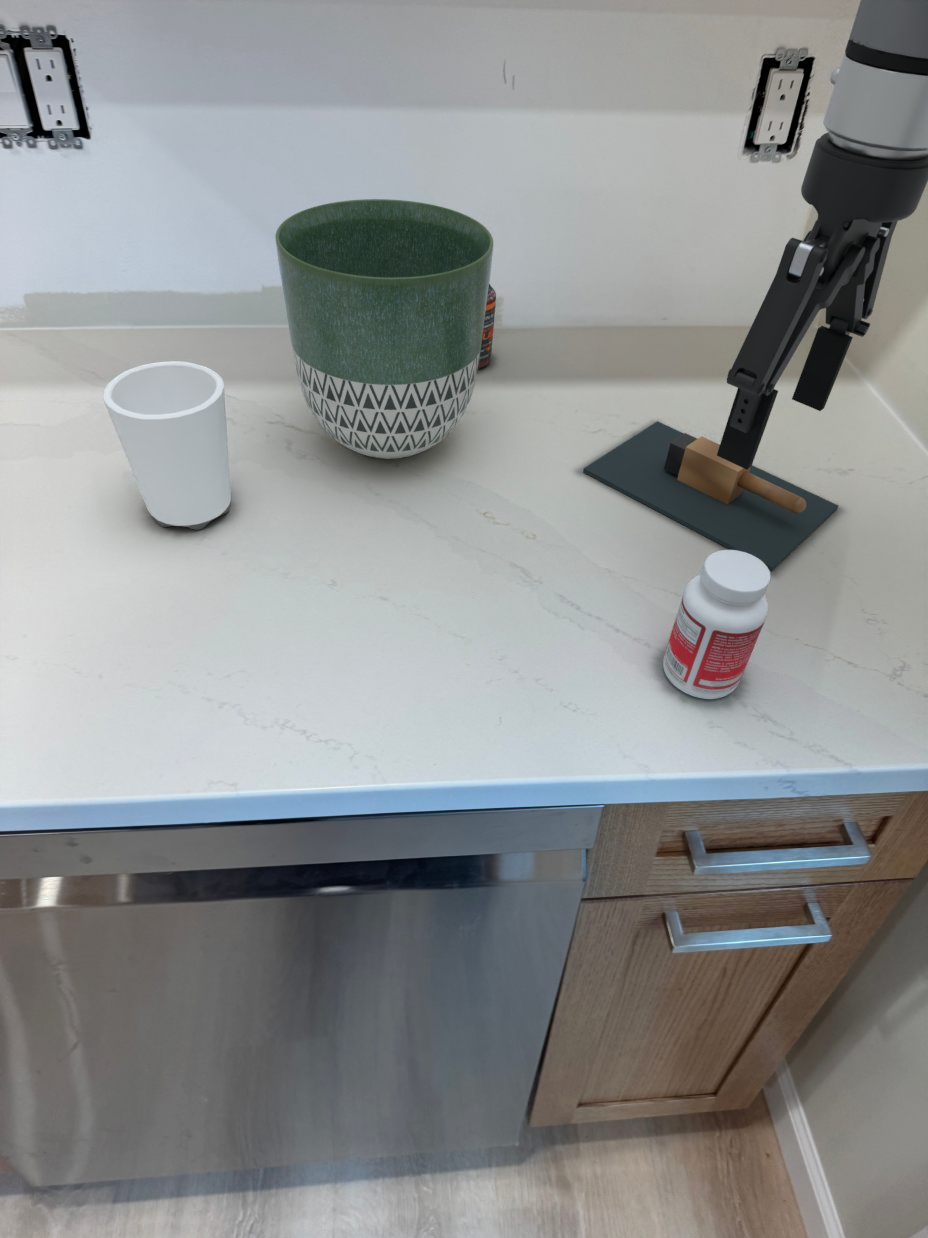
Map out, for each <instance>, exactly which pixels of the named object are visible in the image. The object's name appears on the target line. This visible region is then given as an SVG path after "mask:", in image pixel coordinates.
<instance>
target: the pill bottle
mask: <svg viewBox="0 0 928 1238" xmlns="http://www.w3.org/2000/svg"><path fill="white" fill-rule="evenodd" d="M770 581H771V571H770V570H769V569H768V567H767V566H766V565H765V564H764V563H763V562H762V561H761V560H760V559H758V558H757V557H755V556H753V555H751V554H748V553H745V552H742V551H737V550H730V549H721V550H717V551H715V552H713V553H710V554H709V555H708V556H707V558H705V561H704V563H703V566H702V569H701V571H700V573H699V574H698V575H696V576H694V577H693V578H692V579H690V581H689V582H688V583H687V585H686V586H685V589H684V591H683V594H682V597H681V601H680V603H679V607H678V609H677V613H676V616H675V619H674V622H673V626H672V628H671V633H670V637H669V639H668V642H667V645H666V648H665V649H666V650H665V652H664V656H663V661H662V663H663V665H662V666H663V671H664V674H665V676H666V677H667V679H668V680H669V681H670V683H671V684H672V685H673V686H674V687H676V689H678V690H680V691H681V692H683V693H685V694H686V695H689V696H691V697H694V698H699V699H703V700H717V699H720V698H723V697H726V696H728V695H731V693H733V692H734V691H735V690H736V689H737V687H738V686H739V684H740V682H741V680H742V678H743V675H744V673H745V670H746V668H747V665H748V663H749V660H750V658H751V656H752V653H753V650H754V648H755V646H756V644H757V642H758V639H759V636H760V634H761V631H762V629H763V626H764V624H765V622H766V619H767V616H768V614H769V602H768V600H767V596H766V593H767V591H768V588H769V584H770Z"/></svg>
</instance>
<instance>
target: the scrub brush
mask: <svg viewBox="0 0 928 1238" xmlns="http://www.w3.org/2000/svg"><path fill="white" fill-rule="evenodd" d="M719 446H720V444H719V443H717V442H716V441H713V440H711V439H709V438H707V437H705V436H700V437H698V438H697V437H696V436H692V435H691V434H689V433H687V432H684V434H683V435H681V436H680V437H678V438H677V439H675V440H674V441H672V442H671V443H670V447H669V451H668V455H667V458H666V462H665V466H664V469H665V470H667V471H669V472H671V473H673V474H675V475H677V476H678V478H677V480H678V481H680V482H682V483H684V484H686V485H688V486H690V487H692V488H694V489H696V490H698V491H700V492H702V493H704V494H707V495H709V496H711V497H713V498H715V499H717V500H719V501H721V502H723V503H725V504H727V505H728V504H729V503H730V502H732V501H733V500H734V499H735V498H737V497H738V496H739V495H740V494H742V492H743V489H745V490H747V491H749V492H751V493H754V494H756V495H758V496H760V497H762V498H764V499H766V500H768V501H770V502H772V503H774V504H776V505H778V506H780V507H782V508H785V509H787V510H789V511H791V512H793V513H801V512H803V511H804V510H805V508H806V501H805V500H804V499H803V498H802V497H800V496H797V495H795V494H793V493H791V492H789V491H787V490H785V489H783V488H781V487H778V486H776V485H774V484H772V483H770V482H768V481H766V480H764V479H761V478H759V477H757V476H755V475H753V474H751V473H749V472H750V469H751V467H750V468H749V469H747V470H746V469H744V468H742V467H740V466H738V465H736V464H734V463H732V462H730V461H727V460H725V459H723V458H721V457H719V456H717V453H718V449H719Z"/></svg>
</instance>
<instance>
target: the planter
mask: <svg viewBox="0 0 928 1238" xmlns="http://www.w3.org/2000/svg"><path fill="white" fill-rule="evenodd" d="M274 237H275V238H274V239H275V247H276V254H277V255H276V256H277V261H278V262H277V263H278V270H279V274H280V280H281V286H282V291H283V292H282V293H283V298H284V304H285V311H286V318H287V324H288V325H287V326H288V330H289V337H290V342H291V348H292V349H291V350H292V354H293V361H294V366H295V371H296V376H297V380H298V383H299V386H300V390H301V392H302V395H303V398H304V401H305V402H306V405H307V407H308V409H309V411H310V413H311V415H312V416H313V418H314V420H315V421H316V422H317V424H319V426H320V427H321V429H323V430H324V431H325V433H326V434H328V435H329V436H330V438H332V439H334V440H335V441H336V442H338V443H339V444H341V445H342V446H343V447H345V448H347V449H349V450H351V451H354V452H355V453H358V454H361V455H364V456H365V457H366V456H367V457H370V458H375V459H376V458H377V459H385V460H386V459H388V460H389V459H392V460H394V459H402V458H407V457H411V456H414V455H417V454H420V453H423V452H424V451H427V450H429V449H430V448H433V447H434V446H436V445H437V444H438V443H440V442H442V440H444V439H445V438H446V437H447V436H448V435H450V433H451V432H452V431H453V430H454V429H455V428H456V427H457V426H458V424H459V423H460V421H461V420H462V419H463V416H464V415H465V413H466V411H467V409H468V406H469V404H470V401H471V400H472V397H473V396H472V395H473V393H474V390H475V386H476V382H477V377H478V372H479V369H478V365H479V358H480V350H481V343H482V336H483V329H484V320H485V311H486V303H487V295H488V288H489V284H490V282H489V281H491V272H492V265H493V256H494V255H493V254H494V238H493V235H492V233H491V232H490V230H489V229H487V227H486V226H485V225H484V224H483V223H481V222H480V221H478V220H476V219H475V218H473V217H471V216H469V215H467V214H464V213H462V212H459V211H458V210H457V211H456V210H454V209H450V208H447V207H444V206H440V205H436V204H431V203H425V202H419V201H413V200H412V201H411V200H404V199H390V198H389V199H388V198H387V199H386V198H385V199H383V198H368V199H367V198H366V199H351V200H342V201H335V202H329V203H324V204H320V205H316V206H313V207H310V208H306V209H304V210H301V211H298V212H297V213H295V214H292V215H291V216H289V217H288V218H286V219H285V220H284V221H282V222H281V224H280V225H278V227H277V229H276V232H275V236H274Z"/></svg>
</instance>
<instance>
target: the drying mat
mask: <svg viewBox="0 0 928 1238" xmlns="http://www.w3.org/2000/svg"><path fill="white" fill-rule="evenodd" d="M684 433H685V432H684ZM684 433H683V432H682V431H679V430H677V429H675V428H673V427H671V426H669V425H666V424H664V423H662V422H660V421H659V420H657V421H655V422H654V423H652V424H651V425H650V426H647V427H646V428H644V429H643V430H641V431H639V432H638V433H637V434H635V435H633V436H632V437H631V438H629V439H627V440H626V441H624V442H623V443H621V444H619V445H618V446H617V447H615V448H613V449H612V450H610V451H608V452H607V453H605V454H603V455H602V456H600V457H599V458H597V459H596V460H594V461H593V462H591V463H590V464H588V465H586V466H585V467H583V470H582V472H583V473H584V474H585V475H588V476H590V477H592V478H593V479H596V480H597V481H599V482H601V483H603V484H605V485H607V486H609V487H610V488H613V489H614V490H616V491H618V492H621V493H622V494H624V495H625V496H628V497H630V498H632V499H634V500H635V501H637V502H639V503H641V504H643V505H645V506H646V507H649V508H651V509H653V510H654V511H656V512H658V513H660V514H662V515H663V516H666V517H668V518H670V519H672V520H673V521H675V522H677V523H679V524H681V525H683V526H685V527H686V528H689V529H690V530H692V531H694V532H696V533H698V534H700V535H702V536H703V537H705V538H708V539H709V540H711V541H713V542H715V543H717V544H718V545H721V546H723V547H725V548H726V549H727V550H737V551H742V552H745V553H748V554H751V555H753V556H755V557H757V558H758V559H760V560H761V561H762V562H763V563H764V564H765V565H766V566H767V567H768V569H769V571H770V572H772V571H773V570H775V569H776V568H777V567H778V566H779V565H780V564H781V563H783V561H784V560H786V559H787V557H788V556H790V554H792V553H793V552H794V551H795V550H796V549H797V548H798V547H799V546H800V545H801V544H802V543H803V542H804V541H805V540H806V539H807V538H808V537H810V536H811V535H812V534H813V533H814V532H815V531H817V529H818V528H819V527H820V526H821V525H822V524H823V523H824V522H826V520H828V518H829V517H831V516H832V515H833V514H834V513H835V512H836V511H837V510H838V508H839V505H838V504H836V503H834V502H832V501H830V500H828V499H825V498H823V497H821V496H819V495H817V494H815V493H812V492H811V491H808V490H806V489H804V488H803V487H800V486H798V485H795V484H794V483H791V482H789V481H786V480H784V479H783V478H780V477H778V476H776V475H774V474H772V473H770V472H768V471H765V470H763V469H762V468H759V467H757V466H754V465H753V464H752V466H751V469H750V472H749V473H751V474H753V475H755V476H757V477H759V478H761V479H764V480H766V481H768V482H770V483H772V484H774V485H776V486H778V487H781V488H783V489H785V490H787V491H789V492H791V493H793V494H795V495H797V496H800V497H802V498H803V499H804V500H805V501H806V508H805V510H804V511H803V512H801V513H793V512H791V511H789V510H787V509H785V508H782V507H780V506H778V505H776V504H774V503H772V502H770V501H768V500H766V499H764V498H762V497H760V496H758V495H756V494H754V493H751V492H749V491H747V490H745V489H743V492H742V494H740V495H739V496H738V497H737V498H735V499H734V500H733V501H732V502H730V503H729V504H728V505H727V504H725V503H723V502H721V501H719V500H717V499H715V498H713V497H711V496H709V495H707V494H704V493H702V492H700V491H698V490H696V489H694V488H692V487H690V486H688V485H686V484H684V483H682V482H680V481H678V480H677V478H678V476H677V475H675V474H673V473H671V472H669V471H667V470H665V469H664V466H665V462H666V458H667V455H668V451H669V447H670V443H671V442H672V441H674V440H675V439H677V438H678V437H680V436H681V435H683V434H684Z"/></svg>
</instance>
